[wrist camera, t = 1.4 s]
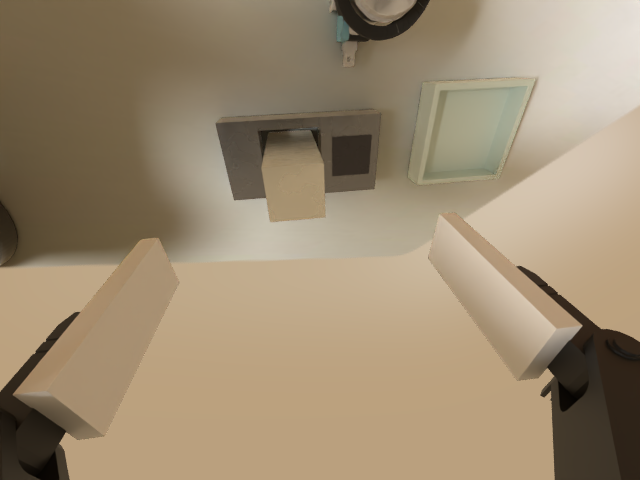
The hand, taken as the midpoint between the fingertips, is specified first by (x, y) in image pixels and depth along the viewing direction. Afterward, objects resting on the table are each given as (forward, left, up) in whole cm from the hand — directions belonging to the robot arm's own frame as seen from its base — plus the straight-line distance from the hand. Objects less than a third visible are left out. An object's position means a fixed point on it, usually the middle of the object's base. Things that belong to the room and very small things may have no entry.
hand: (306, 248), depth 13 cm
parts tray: (+17, +1, -16) cm, 23 cm away
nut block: (0, 0, -16) cm, 16 cm away
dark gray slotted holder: (+1, 0, -16) cm, 16 cm away
